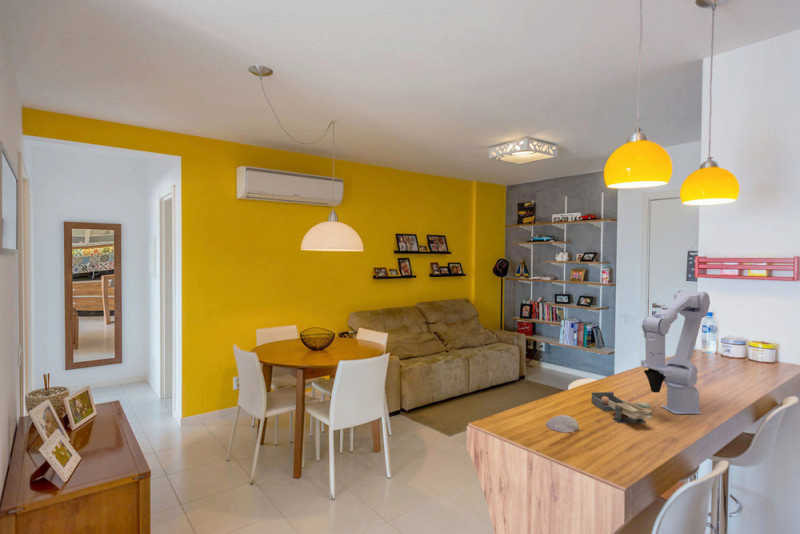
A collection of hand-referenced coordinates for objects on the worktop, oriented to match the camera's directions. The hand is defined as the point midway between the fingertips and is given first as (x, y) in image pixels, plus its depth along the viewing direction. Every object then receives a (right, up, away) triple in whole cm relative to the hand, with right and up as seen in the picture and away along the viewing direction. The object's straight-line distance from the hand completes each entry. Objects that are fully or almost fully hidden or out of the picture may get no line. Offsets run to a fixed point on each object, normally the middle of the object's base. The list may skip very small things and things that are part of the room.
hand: (655, 391), depth 148 cm
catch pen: (-10, -9, +13) cm, 19 cm away
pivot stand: (-10, -9, -2) cm, 14 cm away
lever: (-6, -6, -1) cm, 9 cm away
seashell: (-34, -10, -6) cm, 36 cm away
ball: (-10, -8, +15) cm, 20 cm away
